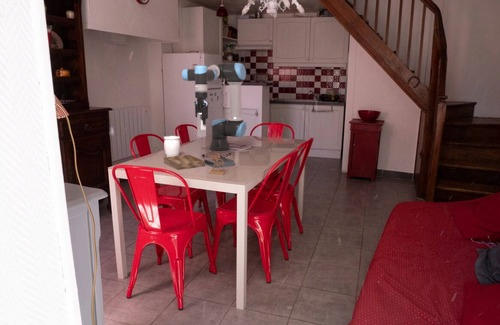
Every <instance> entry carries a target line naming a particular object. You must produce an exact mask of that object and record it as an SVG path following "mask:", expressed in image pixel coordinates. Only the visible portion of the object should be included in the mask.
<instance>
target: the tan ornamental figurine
mask: <svg viewBox="0 0 500 325" xmlns="http://www.w3.org/2000/svg"><path fill="white" fill-rule="evenodd" d="M220 157H221V155H220V153H218V152H217V153H215V154H213V155H211V156H210V157H209V159H210V158H211V160H212V159H214V158H215V159H216V158H220ZM219 160H221V159H218V160H217V159H216V161H217V162H218V161H219ZM212 161H213V160H212ZM221 161H222V162H223V160H221ZM213 162H215V161H213ZM217 164H218V163H217ZM220 164H221V165H222V164H223V165H224V162H223V163H221V162H219V165H218V166H219V167H220ZM215 165H216V164H215ZM215 165H214V167H215ZM214 167H212V169H211V170H210V171H209V172H208V174H210V175H221V176H222V175H225V174H226V171H224V170H223V168H222V167H220V168H218V167H217V168H214Z"/></svg>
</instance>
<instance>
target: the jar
mask: <svg viewBox="0 0 500 325" xmlns="http://www.w3.org/2000/svg"><path fill="white" fill-rule="evenodd" d="M180 138H181V137H180V136H179V135H166V136H163V139H164V142H163V148H164V153H165V155H166V156H165V157H172V156H180V155H179V154H180V148H181V142H180Z"/></svg>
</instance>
